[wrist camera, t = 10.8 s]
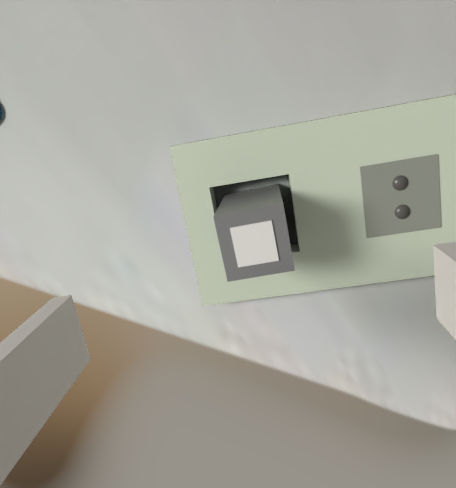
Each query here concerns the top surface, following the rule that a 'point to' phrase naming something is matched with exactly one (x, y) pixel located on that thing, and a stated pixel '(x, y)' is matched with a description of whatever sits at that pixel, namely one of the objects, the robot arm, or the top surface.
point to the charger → (253, 233)
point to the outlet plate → (332, 197)
